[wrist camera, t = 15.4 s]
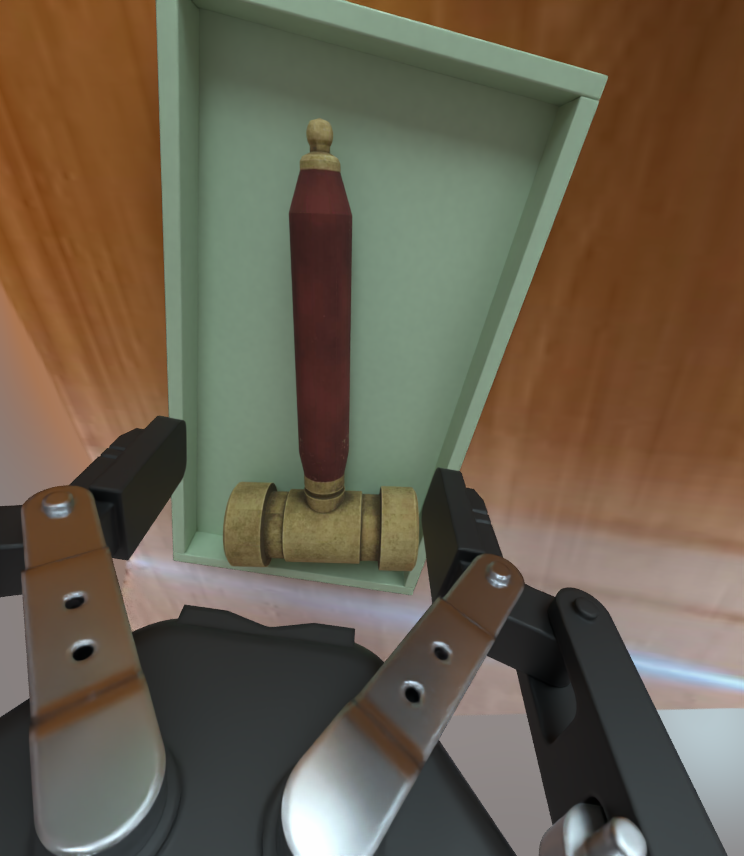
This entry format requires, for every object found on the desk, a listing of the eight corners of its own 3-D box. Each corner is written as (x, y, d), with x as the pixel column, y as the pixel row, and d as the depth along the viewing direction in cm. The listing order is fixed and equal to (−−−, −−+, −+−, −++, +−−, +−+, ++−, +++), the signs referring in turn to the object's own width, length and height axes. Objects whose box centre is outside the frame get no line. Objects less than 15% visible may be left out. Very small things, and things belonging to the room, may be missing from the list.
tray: (186, -17, 15) (152, -55, 13) (576, 92, 16) (609, 75, 14) (189, 530, 27) (172, 561, 25) (409, 564, 29) (412, 595, 27)
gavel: (152, 92, 13) (467, 107, 13) (205, 126, 17) (445, 137, 17) (227, 584, 22) (414, 590, 22) (249, 529, 26) (408, 533, 26)
